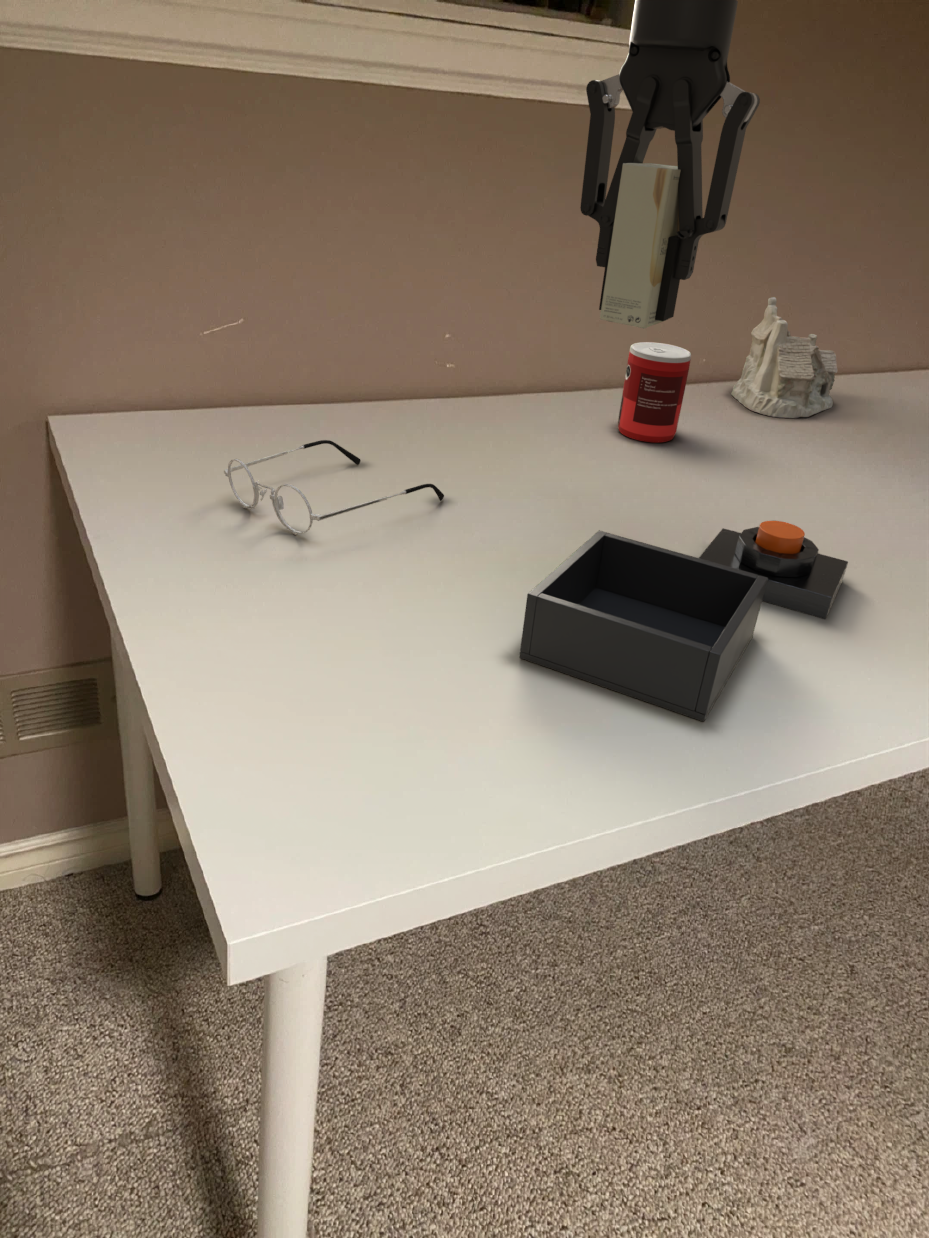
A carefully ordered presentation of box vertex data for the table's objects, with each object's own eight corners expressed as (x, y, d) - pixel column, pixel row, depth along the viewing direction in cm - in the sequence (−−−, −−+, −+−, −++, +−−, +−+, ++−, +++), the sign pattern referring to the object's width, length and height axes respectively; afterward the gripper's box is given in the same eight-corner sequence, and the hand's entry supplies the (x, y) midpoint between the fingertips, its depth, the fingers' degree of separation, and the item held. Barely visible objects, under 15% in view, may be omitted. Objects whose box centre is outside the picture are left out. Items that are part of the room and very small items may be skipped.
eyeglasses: (210, 497, 95) (208, 449, 92) (351, 460, 107) (352, 417, 105) (313, 552, 86) (313, 501, 83) (454, 504, 98) (457, 459, 96)
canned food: (644, 421, 130) (658, 339, 124) (688, 439, 124) (705, 354, 119) (603, 428, 125) (617, 344, 120) (647, 446, 120) (663, 359, 115)
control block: (842, 582, 89) (854, 543, 87) (825, 619, 82) (838, 579, 80) (717, 548, 94) (726, 510, 92) (692, 581, 87) (701, 541, 85)
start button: (803, 545, 87) (808, 528, 86) (795, 560, 84) (800, 542, 83) (760, 534, 89) (765, 516, 88) (750, 548, 86) (755, 530, 85)
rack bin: (752, 637, 78) (768, 577, 76) (703, 722, 67) (720, 655, 64) (589, 587, 84) (599, 529, 81) (518, 657, 73) (527, 593, 70)
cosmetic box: (645, 331, 78) (673, 168, 72) (597, 322, 80) (620, 162, 74) (670, 320, 83) (698, 166, 77) (624, 311, 85) (648, 161, 79)
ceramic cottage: (745, 412, 136) (776, 306, 130) (722, 386, 151) (748, 289, 144) (851, 429, 137) (887, 324, 130) (817, 401, 152) (848, 305, 145)
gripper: (817, -1, 69) (747, 324, 81) (597, -9, 76) (561, 291, 88) (796, -14, 64) (723, 338, 75) (560, -22, 70) (526, 302, 82)
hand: (636, 312), depth 81 cm, fingers closed on cosmetic box, 4 cm apart
